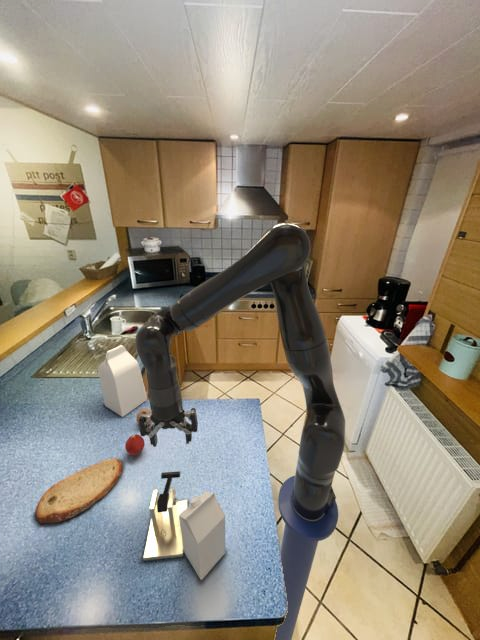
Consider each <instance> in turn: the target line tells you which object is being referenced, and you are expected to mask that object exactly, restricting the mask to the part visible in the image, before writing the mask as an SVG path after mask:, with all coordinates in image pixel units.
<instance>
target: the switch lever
mask: <svg viewBox="0 0 480 640" xmlns="http://www.w3.org/2000/svg"><path fill="white" fill-rule="evenodd" d="M177 478H181V470H179V471H168V472H167V471H165V472H161V474H160V479H161V480H163V479H164V480H165V479H166V482H165V485H164V489H163V492H162V493H159V498H158V502H157V512H167V510H168V501H169V495H170V488H171V486H172V481H173V479H177Z"/></svg>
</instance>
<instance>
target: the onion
mask: <svg viewBox="0 0 480 640" xmlns="http://www.w3.org/2000/svg"><path fill="white" fill-rule="evenodd" d="M144 447H145V439H144V438H143V436H141V434H132V435H131V436H129V437H128V438H127V440H126V442H125V445H124V449H125V451H126V453H127V454H128V455H130V456H135V455H138V454H140V453H141V452H142V451H143V450H144Z"/></svg>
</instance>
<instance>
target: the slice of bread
mask: <svg viewBox="0 0 480 640" xmlns="http://www.w3.org/2000/svg"><path fill="white" fill-rule="evenodd" d="M122 473H123V462H122V461H121V460H119V459H117V458H109V459H105V460H102V461H99V462H97V463H94V464H93V465H90V466H87V467H85V468H83V469H80V470H79V471H77V472H76V471H75V472H74V473H72V474H70V475H68V476H67V477H64V478H63V479H61V480H59V481H57V482H56V483H54V484H52V485H51V486H50V487H49V488H48V489H47V490H46V491H45V492H44V493H43V495H42V496H41V498H39V501H38V503H37V505H36V508H35V518H36V520H37V521H38V522H39V523H40V524H47V523H60V522H63V521H66V520H70V519H71V518H73V517H75V516H78V515H79V514H81V513H83V512H85V511H86V510H88V509H90V508H91V507H93V505H94V504H95V503H97V502H98V501H101V500H102V499H103V498H104V497H105V496H106V495H107V494H108V493H109V492H110V490H112V489H113V488H114V487H115V485H116V484H117V482H118V481H119V479H120V477H121V475H122Z"/></svg>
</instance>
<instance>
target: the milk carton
mask: <svg viewBox="0 0 480 640" xmlns="http://www.w3.org/2000/svg"><path fill="white" fill-rule="evenodd" d="M179 520H180V528H181V535H182V543H183V554H185V557H186V558H187V559H188V561H189V563H190V565H191V567H193V569H194V572H196V574H197V576H198V578H199V579H200V580H201V581H202V580H204V578H205V577H206V576H207V575H208V574H209V572H211V570H212V569H213V568H214V567H215V566H216V565H217V563H218V562H219V561H220V560H221V558H222V557H224V555H225V554H226V515H225V513H224V511H223V508H222V507H221V505H220V502H219V501H218V499H217V496H216V493H215V491H213V492H208V491H204V492H203V493H202V494H201V495H200V496H199V495H196V496H194V497H192V498H191V499H190V501H189V504H188V506H187V508H186V509H185V510H184V511H183V512H182V513H181V514H179Z"/></svg>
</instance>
